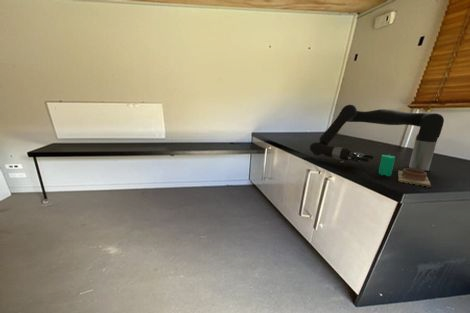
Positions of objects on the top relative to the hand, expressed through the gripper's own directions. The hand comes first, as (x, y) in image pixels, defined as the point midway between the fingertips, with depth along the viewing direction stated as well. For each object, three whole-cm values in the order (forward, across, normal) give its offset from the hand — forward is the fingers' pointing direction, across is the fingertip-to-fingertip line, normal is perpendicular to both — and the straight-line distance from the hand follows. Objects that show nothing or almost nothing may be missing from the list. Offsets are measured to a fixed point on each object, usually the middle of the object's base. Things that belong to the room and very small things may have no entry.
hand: (371, 158), depth 117 cm
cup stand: (+20, +2, +7) cm, 21 cm away
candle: (+8, 0, +7) cm, 11 cm away
